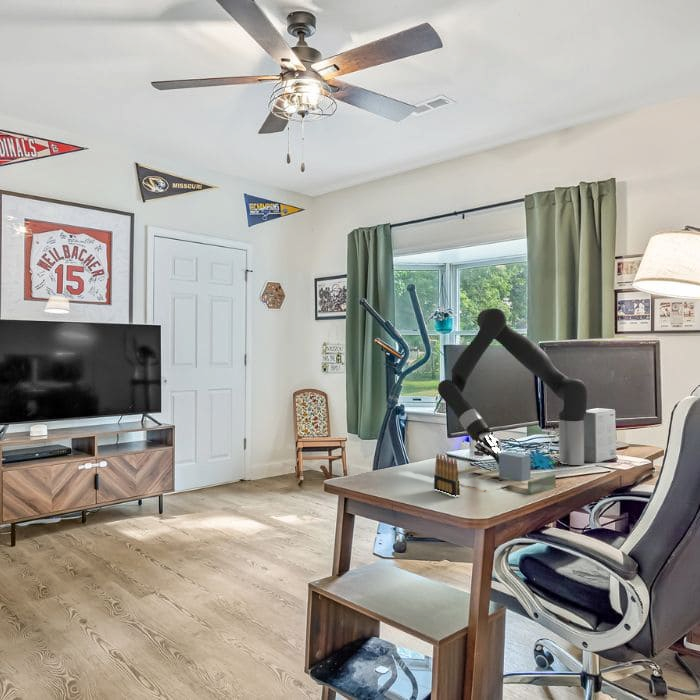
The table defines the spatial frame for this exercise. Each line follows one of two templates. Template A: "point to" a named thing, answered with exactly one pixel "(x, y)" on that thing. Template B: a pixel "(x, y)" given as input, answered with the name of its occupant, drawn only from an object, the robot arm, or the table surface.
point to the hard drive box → (599, 435)
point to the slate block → (514, 466)
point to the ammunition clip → (446, 476)
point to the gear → (541, 460)
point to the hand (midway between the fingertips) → (502, 463)
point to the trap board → (515, 481)
